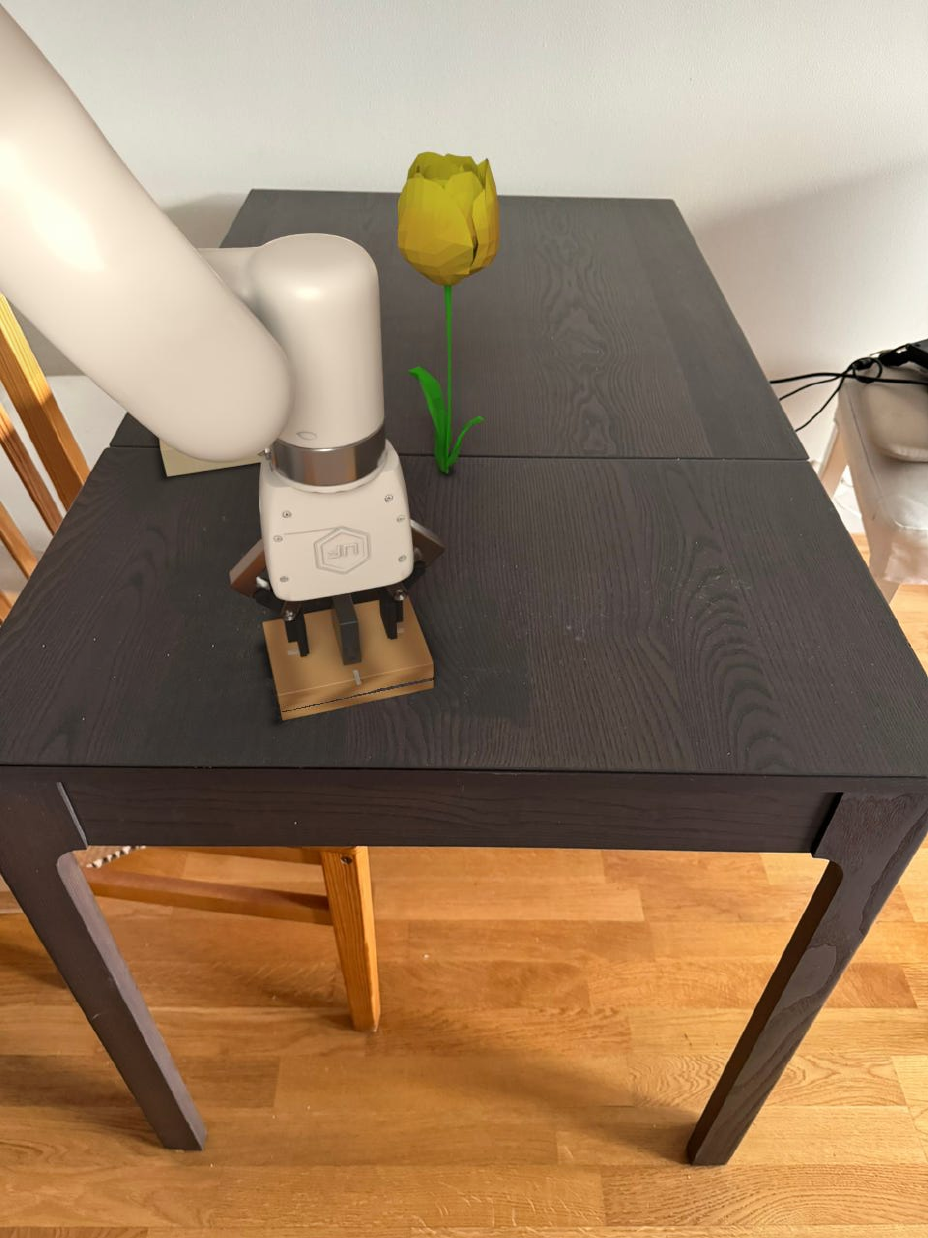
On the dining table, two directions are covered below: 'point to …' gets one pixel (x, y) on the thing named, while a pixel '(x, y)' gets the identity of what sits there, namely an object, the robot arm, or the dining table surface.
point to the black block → (346, 628)
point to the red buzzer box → (194, 462)
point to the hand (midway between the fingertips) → (345, 633)
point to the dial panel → (332, 680)
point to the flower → (447, 251)
